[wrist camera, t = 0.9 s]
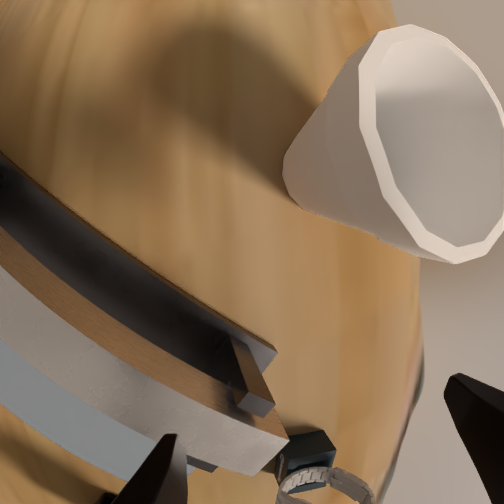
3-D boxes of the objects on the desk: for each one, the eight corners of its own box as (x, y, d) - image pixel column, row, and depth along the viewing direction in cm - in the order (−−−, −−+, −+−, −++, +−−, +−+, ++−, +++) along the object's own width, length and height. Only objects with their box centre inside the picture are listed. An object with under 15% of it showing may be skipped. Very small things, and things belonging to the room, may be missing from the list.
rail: (242, 441, 16) (252, 476, 13) (-83, 192, 10) (-111, 191, 7) (273, 406, 16) (289, 440, 13) (-67, 150, 10) (-95, 144, 7)
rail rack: (222, 411, 22) (238, 488, 14) (-48, 211, 15) (-113, 213, 7) (273, 346, 22) (315, 409, 14) (-15, 137, 16) (-78, 115, 7)
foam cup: (242, 211, 20) (321, 204, 8) (281, 93, 20) (374, -13, 7) (358, 252, 22) (497, 286, 10) (386, 144, 22) (516, 109, 9)
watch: (257, 439, 23) (293, 535, 12) (340, 426, 24) (398, 501, 14) (254, 477, 23) (283, 562, 13) (329, 464, 25) (376, 535, 14)
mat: (166, 493, 22) (166, 496, 22) (-80, 313, 15) (-82, 314, 14) (224, 433, 22) (224, 436, 22) (-61, 221, 15) (-64, 221, 15)
